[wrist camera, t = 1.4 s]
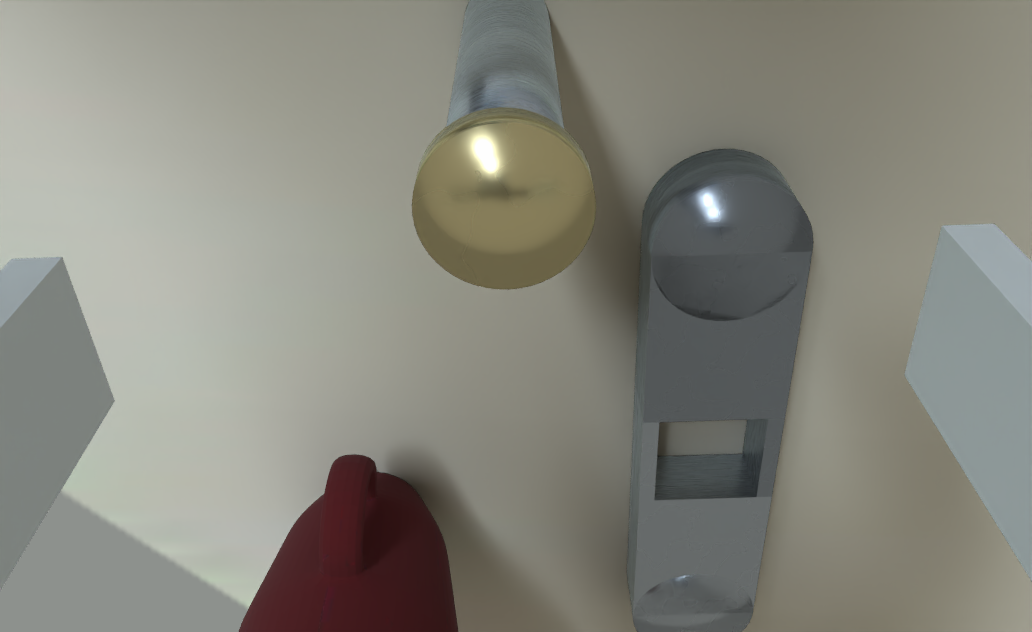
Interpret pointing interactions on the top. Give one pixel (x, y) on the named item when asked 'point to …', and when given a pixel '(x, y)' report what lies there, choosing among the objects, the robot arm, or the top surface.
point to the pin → (504, 158)
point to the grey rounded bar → (711, 383)
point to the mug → (358, 562)
